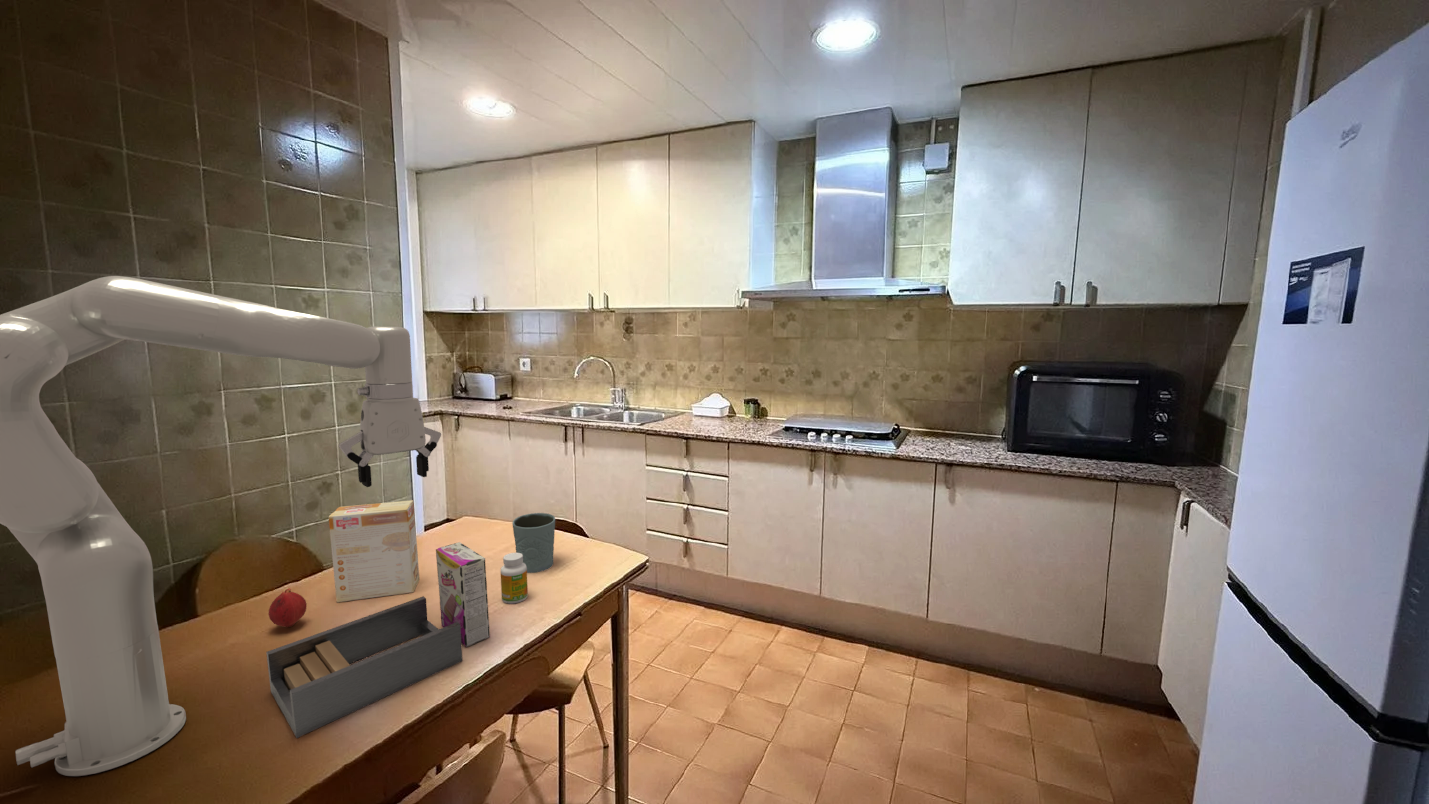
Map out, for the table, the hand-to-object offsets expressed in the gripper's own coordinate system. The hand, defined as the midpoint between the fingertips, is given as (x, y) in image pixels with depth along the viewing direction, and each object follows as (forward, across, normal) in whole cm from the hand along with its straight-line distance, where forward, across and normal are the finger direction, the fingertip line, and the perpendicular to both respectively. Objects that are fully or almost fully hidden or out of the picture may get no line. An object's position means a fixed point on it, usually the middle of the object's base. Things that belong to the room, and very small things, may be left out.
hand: (395, 480), depth 104 cm
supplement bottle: (+30, +20, -6) cm, 36 cm away
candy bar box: (+30, +7, -12) cm, 33 cm away
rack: (+30, -10, -13) cm, 34 cm away
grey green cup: (+29, +32, +5) cm, 44 cm away
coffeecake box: (+30, +2, +19) cm, 35 cm away
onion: (+30, -15, +16) cm, 37 cm away
